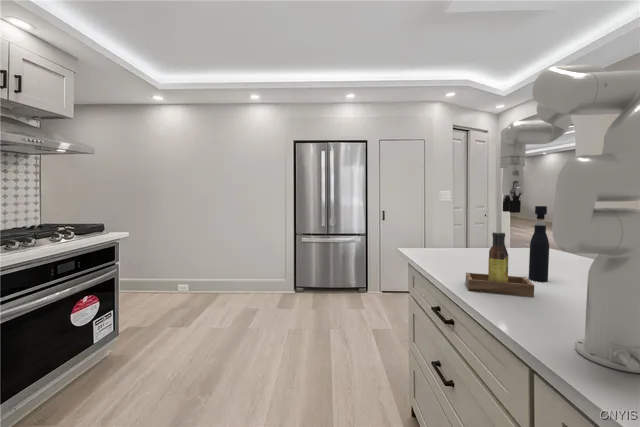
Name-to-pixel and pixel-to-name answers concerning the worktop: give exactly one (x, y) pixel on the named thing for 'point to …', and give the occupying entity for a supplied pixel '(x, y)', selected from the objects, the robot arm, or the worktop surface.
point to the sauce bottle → (498, 259)
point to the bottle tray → (500, 285)
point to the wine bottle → (539, 248)
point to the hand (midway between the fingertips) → (510, 212)
